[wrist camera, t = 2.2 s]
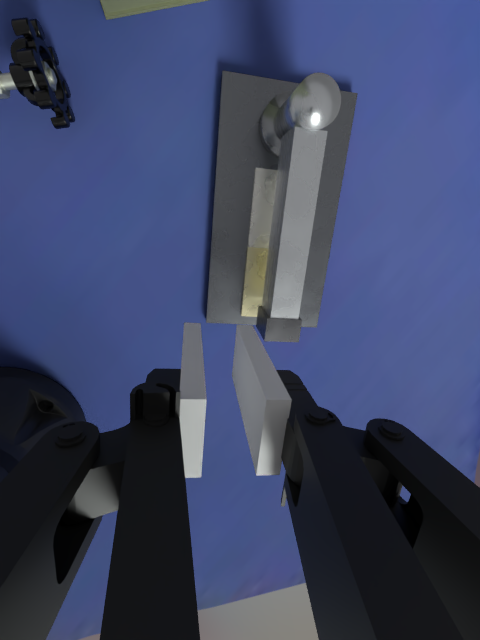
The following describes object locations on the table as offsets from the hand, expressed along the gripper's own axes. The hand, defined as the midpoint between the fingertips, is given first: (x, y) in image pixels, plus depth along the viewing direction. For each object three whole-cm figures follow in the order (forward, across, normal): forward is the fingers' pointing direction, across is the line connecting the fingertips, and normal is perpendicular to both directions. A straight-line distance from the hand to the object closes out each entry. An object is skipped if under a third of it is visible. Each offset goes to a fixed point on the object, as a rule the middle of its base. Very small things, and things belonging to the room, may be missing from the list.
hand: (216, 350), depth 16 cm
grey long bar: (+16, +7, +6) cm, 18 cm away
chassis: (+18, +7, +6) cm, 21 cm away
